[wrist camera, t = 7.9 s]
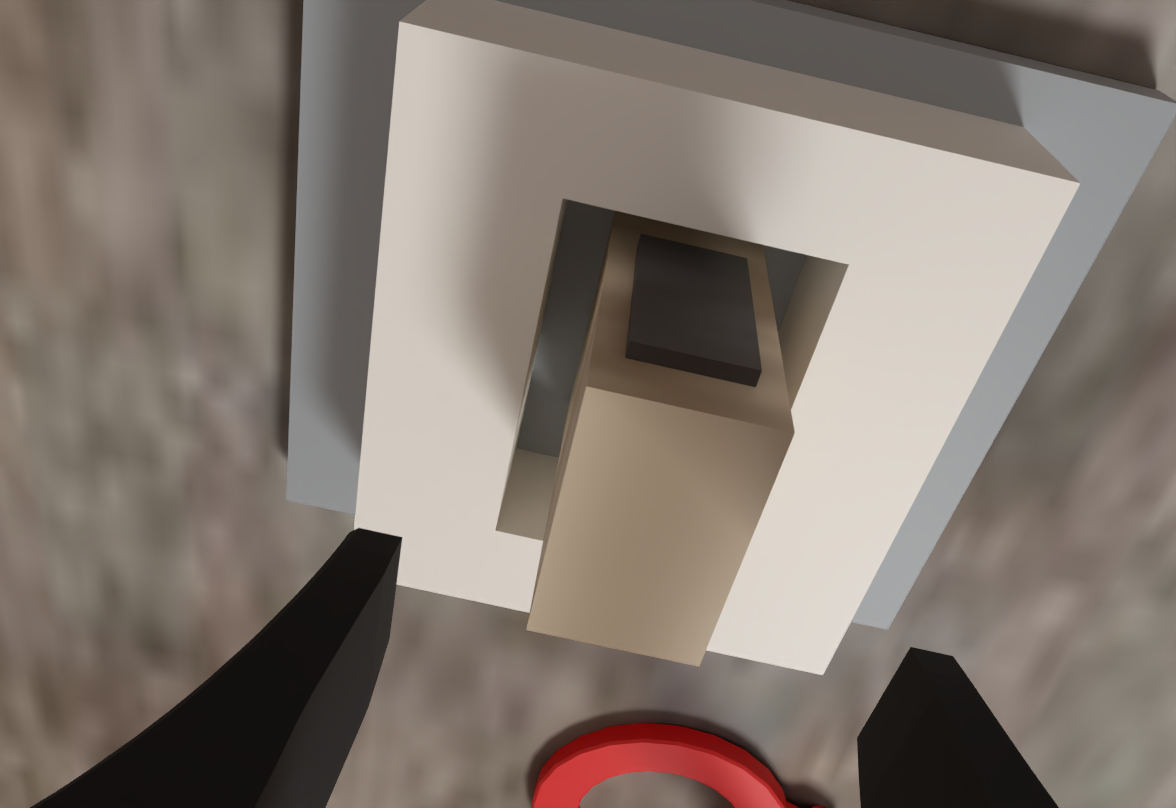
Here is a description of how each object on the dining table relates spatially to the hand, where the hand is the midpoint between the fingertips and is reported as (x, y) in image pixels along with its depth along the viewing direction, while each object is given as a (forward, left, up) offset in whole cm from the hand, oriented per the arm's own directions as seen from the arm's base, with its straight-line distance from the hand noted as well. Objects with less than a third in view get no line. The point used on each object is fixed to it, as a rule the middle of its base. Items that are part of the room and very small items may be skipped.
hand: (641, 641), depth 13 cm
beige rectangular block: (0, 0, -9) cm, 9 cm away
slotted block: (0, 0, -10) cm, 10 cm away
